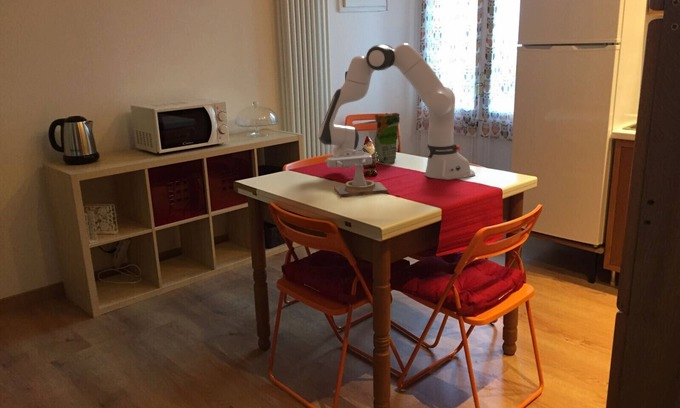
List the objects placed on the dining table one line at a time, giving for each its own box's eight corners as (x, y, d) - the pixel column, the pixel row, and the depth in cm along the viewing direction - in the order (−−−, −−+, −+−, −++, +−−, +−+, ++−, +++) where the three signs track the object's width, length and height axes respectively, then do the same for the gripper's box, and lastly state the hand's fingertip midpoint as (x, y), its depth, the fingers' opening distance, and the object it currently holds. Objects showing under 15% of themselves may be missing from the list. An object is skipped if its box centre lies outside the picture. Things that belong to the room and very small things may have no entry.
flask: (367, 190, 240) (366, 166, 237) (350, 190, 241) (349, 166, 238) (368, 185, 247) (368, 162, 244) (351, 185, 248) (350, 162, 245)
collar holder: (379, 185, 252) (379, 177, 251) (387, 193, 240) (387, 184, 239) (334, 189, 249) (333, 181, 248) (340, 197, 236) (339, 189, 235)
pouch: (401, 159, 298) (400, 111, 291) (394, 165, 288) (393, 114, 281) (380, 159, 302) (379, 110, 295) (373, 164, 292) (372, 114, 285)
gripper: (323, 153, 263) (329, 159, 250) (367, 149, 267) (375, 155, 254) (324, 166, 265) (330, 173, 252) (367, 163, 268) (375, 169, 255)
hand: (353, 164), depth 253 cm, fingers open, 8 cm apart
